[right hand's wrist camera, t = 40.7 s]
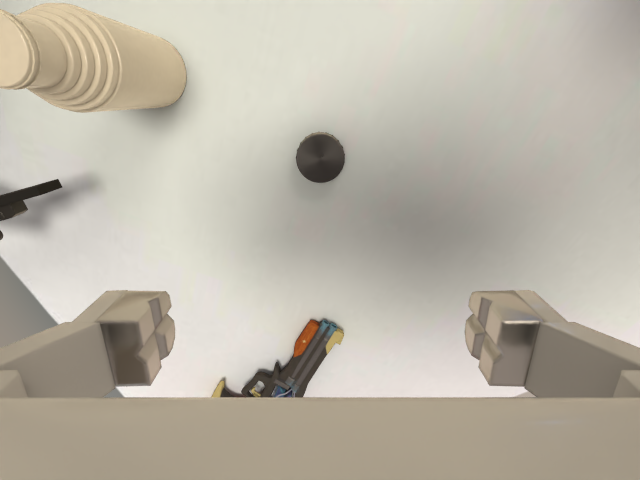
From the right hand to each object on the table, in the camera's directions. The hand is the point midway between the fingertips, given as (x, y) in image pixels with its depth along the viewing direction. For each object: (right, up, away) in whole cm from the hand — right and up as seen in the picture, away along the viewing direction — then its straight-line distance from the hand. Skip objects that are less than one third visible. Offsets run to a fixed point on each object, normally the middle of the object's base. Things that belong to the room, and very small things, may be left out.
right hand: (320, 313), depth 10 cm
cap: (0, +10, +26) cm, 27 cm away
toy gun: (-6, -14, +36) cm, 39 cm away
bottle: (-15, +17, +24) cm, 34 cm away
